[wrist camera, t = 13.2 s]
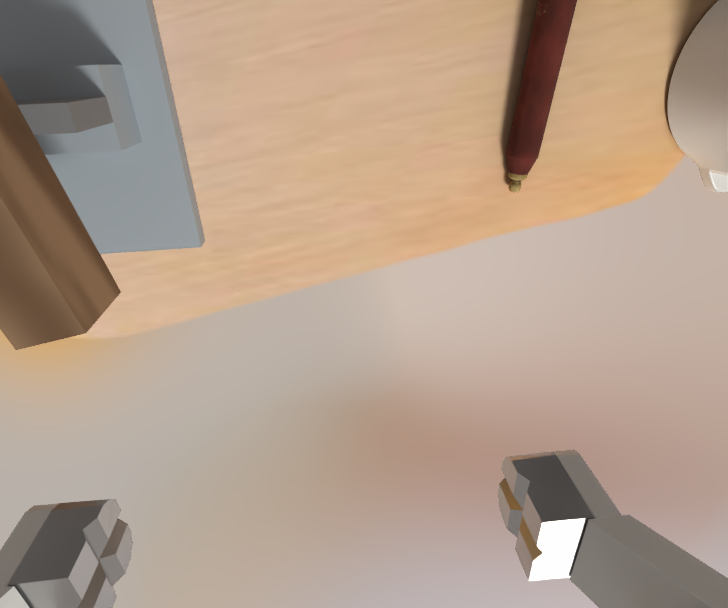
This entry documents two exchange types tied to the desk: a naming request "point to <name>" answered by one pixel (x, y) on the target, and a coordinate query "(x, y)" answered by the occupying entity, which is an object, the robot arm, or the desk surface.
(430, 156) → the desk surface
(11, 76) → the ridge stand
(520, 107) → the gavel
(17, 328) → the bar
